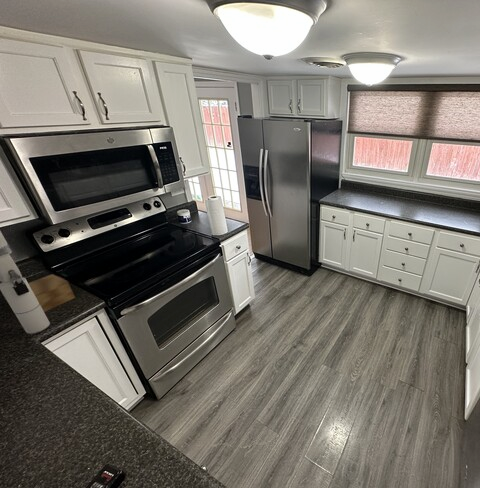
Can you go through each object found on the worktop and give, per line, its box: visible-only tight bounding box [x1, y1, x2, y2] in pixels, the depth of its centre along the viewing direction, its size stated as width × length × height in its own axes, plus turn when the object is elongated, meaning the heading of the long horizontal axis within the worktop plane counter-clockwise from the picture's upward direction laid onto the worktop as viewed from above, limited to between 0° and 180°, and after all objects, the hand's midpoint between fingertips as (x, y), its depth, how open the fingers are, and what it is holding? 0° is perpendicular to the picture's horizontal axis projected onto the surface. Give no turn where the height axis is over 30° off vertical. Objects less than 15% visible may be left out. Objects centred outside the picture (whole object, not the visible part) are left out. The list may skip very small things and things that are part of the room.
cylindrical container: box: [0, 276, 51, 334], centre depth 106 cm, size 7×7×25 cm
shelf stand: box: [28, 273, 76, 313], centre depth 127 cm, size 14×14×10 cm
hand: (17, 290), depth 103 cm, fingers open, 9 cm apart
